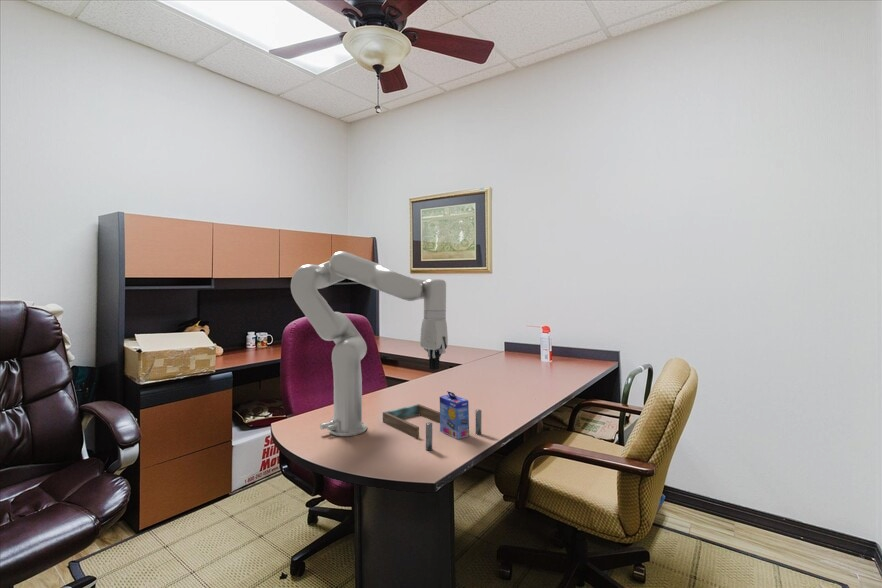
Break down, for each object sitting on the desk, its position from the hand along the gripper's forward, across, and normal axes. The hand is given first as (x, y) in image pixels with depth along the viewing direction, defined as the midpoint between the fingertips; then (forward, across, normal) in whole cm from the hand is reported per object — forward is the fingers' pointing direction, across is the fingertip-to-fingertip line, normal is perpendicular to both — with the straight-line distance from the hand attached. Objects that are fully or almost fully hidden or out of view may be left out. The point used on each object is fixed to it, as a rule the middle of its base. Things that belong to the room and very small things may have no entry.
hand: (434, 369), depth 143 cm
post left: (+22, +12, -10) cm, 27 cm away
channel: (+22, -9, 0) cm, 23 cm away
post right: (+21, +11, +10) cm, 26 cm away
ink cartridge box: (+22, +6, +4) cm, 23 cm away
